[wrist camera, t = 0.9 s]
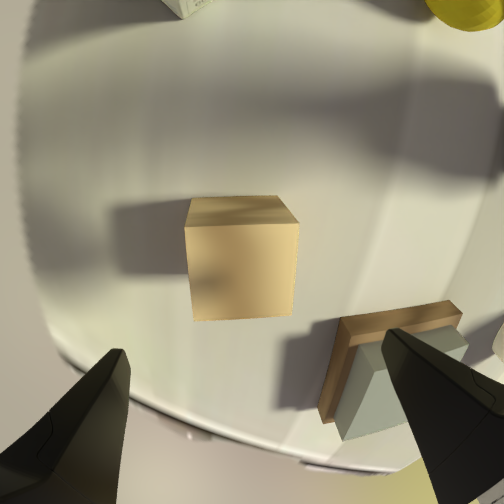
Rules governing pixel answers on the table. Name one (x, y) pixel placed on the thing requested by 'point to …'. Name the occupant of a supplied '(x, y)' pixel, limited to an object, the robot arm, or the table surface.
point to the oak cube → (241, 257)
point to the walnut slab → (372, 330)
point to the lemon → (468, 13)
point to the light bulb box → (185, 6)
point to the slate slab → (383, 385)
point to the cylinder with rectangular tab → (499, 344)
